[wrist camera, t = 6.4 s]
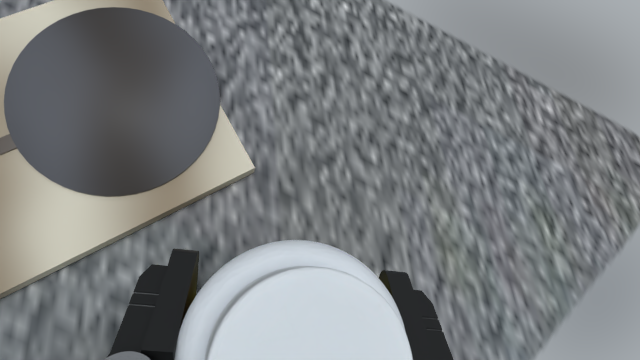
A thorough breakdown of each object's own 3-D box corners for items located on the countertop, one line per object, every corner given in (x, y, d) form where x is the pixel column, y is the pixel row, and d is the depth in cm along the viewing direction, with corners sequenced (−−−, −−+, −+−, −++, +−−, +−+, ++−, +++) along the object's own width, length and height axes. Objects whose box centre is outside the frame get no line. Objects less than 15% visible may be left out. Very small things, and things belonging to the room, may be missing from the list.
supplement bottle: (327, 251, 19) (426, 208, 10) (348, 391, 18) (487, 506, 8) (190, 270, 18) (143, 244, 8) (203, 422, 17) (168, 599, 7)
